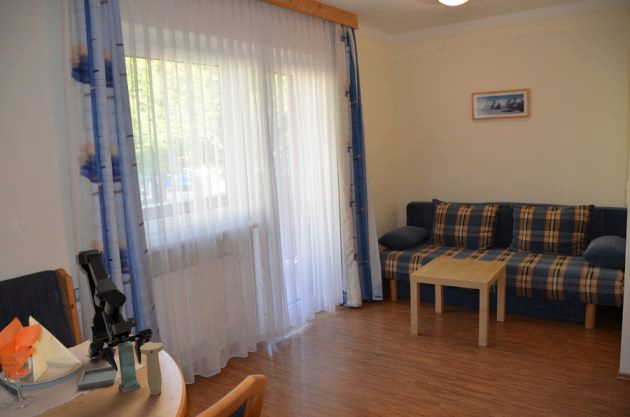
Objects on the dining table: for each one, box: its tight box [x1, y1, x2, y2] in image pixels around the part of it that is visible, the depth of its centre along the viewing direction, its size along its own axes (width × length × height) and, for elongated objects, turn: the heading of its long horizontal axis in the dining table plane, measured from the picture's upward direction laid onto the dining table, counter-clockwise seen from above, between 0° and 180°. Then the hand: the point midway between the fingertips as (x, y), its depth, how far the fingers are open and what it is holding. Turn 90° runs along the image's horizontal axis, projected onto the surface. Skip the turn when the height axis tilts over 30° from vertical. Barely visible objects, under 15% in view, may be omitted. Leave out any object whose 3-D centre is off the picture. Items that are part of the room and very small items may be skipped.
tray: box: [77, 365, 118, 390], centre depth 162 cm, size 10×10×2 cm
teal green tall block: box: [117, 341, 141, 393], centre depth 156 cm, size 5×5×14 cm
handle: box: [140, 342, 164, 396], centre depth 151 cm, size 5×6×15 cm
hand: (128, 367), depth 155 cm, fingers open, 7 cm apart
